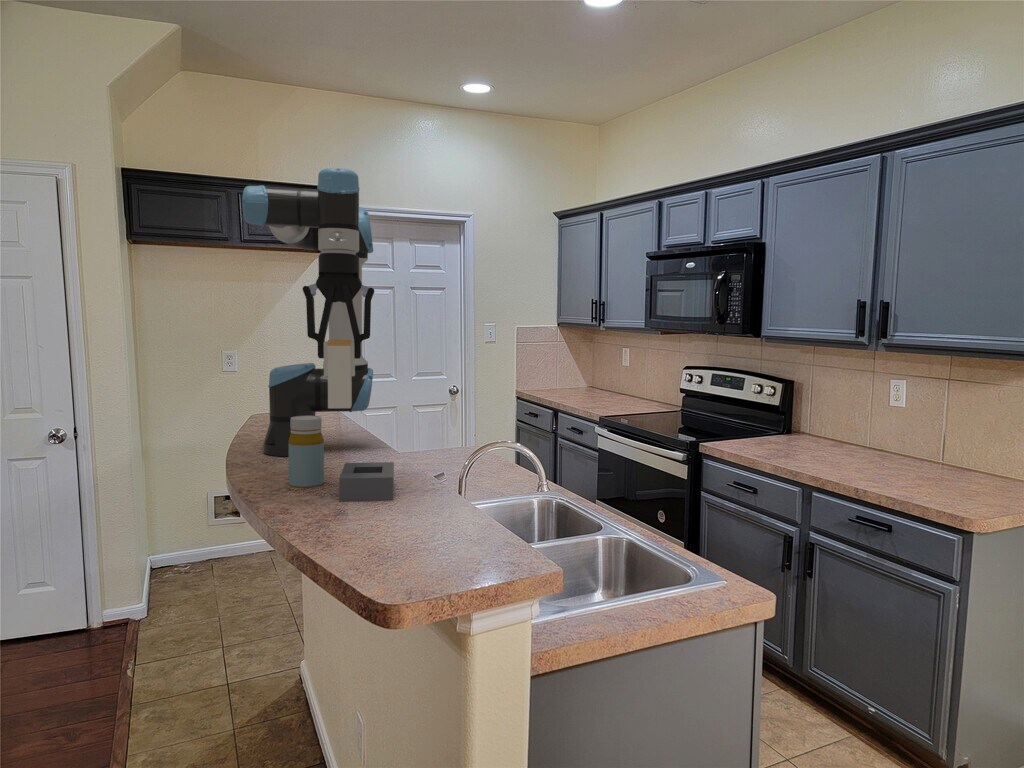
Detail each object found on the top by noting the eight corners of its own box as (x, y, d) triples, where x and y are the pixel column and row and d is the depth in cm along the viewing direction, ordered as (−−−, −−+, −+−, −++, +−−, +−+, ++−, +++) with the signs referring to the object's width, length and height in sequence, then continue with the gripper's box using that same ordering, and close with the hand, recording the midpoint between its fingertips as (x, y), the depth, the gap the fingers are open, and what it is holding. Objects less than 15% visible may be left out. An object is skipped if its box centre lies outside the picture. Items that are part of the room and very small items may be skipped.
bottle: (313, 493, 137) (313, 420, 136) (282, 491, 138) (281, 419, 137) (329, 485, 144) (329, 416, 142) (299, 483, 145) (299, 414, 144)
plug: (329, 405, 133) (329, 339, 131) (351, 405, 133) (351, 339, 132) (328, 408, 128) (327, 340, 127) (350, 408, 129) (350, 340, 128)
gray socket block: (345, 488, 141) (345, 462, 141) (393, 487, 143) (393, 462, 143) (339, 506, 128) (339, 478, 127) (392, 505, 129) (392, 477, 129)
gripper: (288, 249, 123) (290, 377, 125) (385, 253, 126) (385, 377, 128) (294, 253, 130) (295, 373, 132) (385, 256, 133) (384, 374, 136)
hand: (339, 375), depth 130 cm, fingers closed on plug, 4 cm apart
